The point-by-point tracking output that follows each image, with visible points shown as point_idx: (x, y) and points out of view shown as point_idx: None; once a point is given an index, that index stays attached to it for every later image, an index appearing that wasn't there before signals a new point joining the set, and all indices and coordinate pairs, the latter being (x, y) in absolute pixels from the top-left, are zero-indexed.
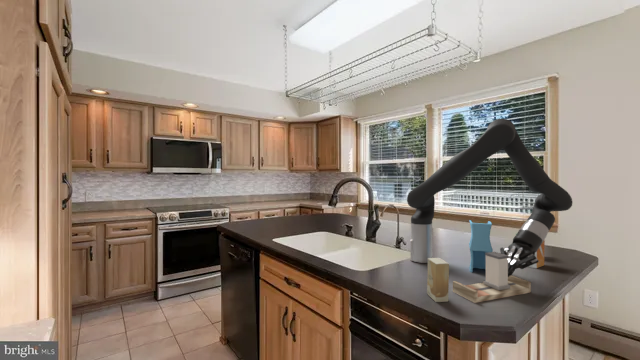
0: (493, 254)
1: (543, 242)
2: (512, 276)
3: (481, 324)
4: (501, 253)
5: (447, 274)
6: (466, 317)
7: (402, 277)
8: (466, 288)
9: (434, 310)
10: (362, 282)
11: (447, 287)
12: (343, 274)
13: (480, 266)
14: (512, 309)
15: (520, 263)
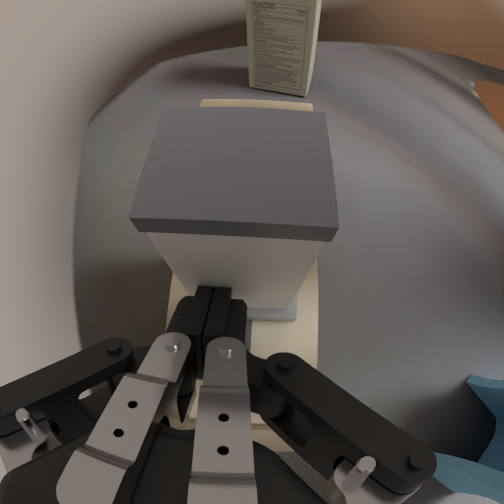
0: (243, 123)
1: None
2: (258, 436)
3: (131, 84)
4: (361, 410)
5: (247, 14)
6: (166, 77)
7: (438, 112)
8: (239, 101)
9: (226, 53)
10: (402, 49)
11: (248, 49)
12: (444, 57)
13: (486, 458)
14: (114, 191)
15: (94, 347)
